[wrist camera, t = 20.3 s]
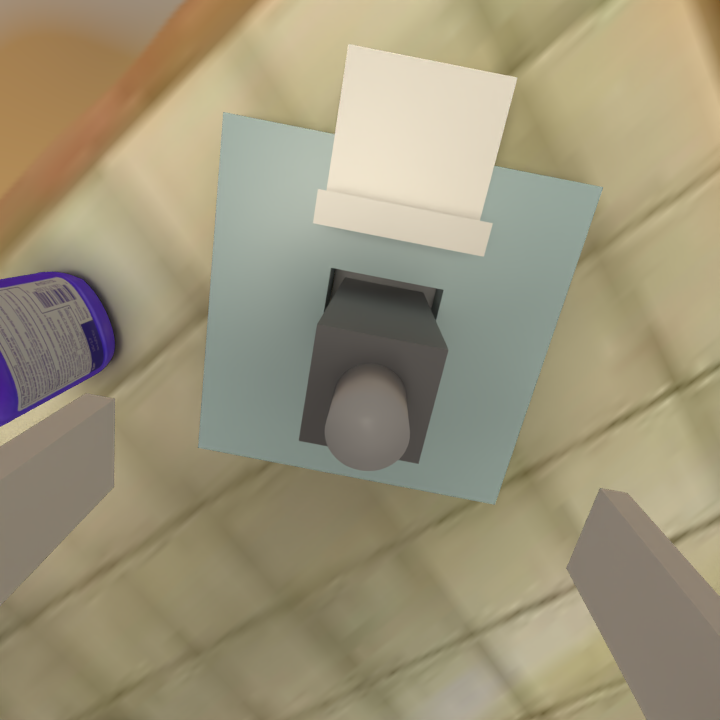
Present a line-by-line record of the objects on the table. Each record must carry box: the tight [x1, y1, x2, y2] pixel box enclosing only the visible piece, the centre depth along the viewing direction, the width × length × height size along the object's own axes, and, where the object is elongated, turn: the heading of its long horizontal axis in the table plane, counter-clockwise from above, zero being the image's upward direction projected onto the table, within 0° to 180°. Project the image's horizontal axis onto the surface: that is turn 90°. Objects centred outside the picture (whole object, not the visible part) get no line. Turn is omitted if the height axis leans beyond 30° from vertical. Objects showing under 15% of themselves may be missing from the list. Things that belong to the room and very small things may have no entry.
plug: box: [299, 277, 448, 471], centre depth 22 cm, size 5×5×15 cm
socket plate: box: [198, 112, 603, 505], centre depth 28 cm, size 20×20×3 cm
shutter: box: [313, 44, 517, 257], centre depth 21 cm, size 8×8×4 cm
